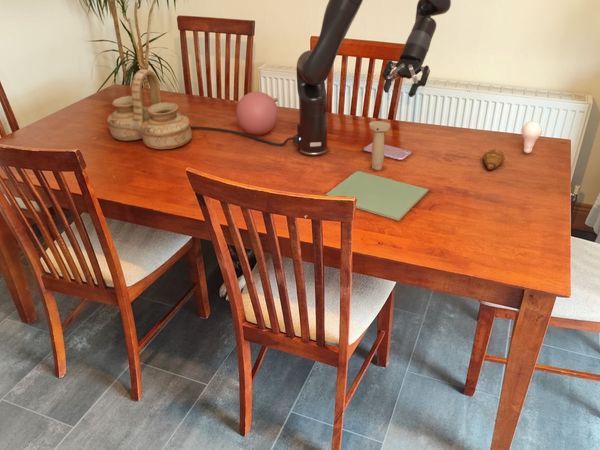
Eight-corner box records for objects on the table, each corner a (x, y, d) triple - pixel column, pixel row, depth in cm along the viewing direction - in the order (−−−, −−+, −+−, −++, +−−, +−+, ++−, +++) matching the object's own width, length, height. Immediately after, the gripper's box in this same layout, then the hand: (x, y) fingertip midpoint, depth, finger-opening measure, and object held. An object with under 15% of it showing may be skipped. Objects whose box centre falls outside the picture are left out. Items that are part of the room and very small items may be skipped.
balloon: (295, 127, 208) (294, 87, 200) (260, 144, 194) (257, 102, 186) (264, 119, 216) (262, 80, 208) (229, 135, 203) (225, 94, 195)
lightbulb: (536, 150, 186) (543, 119, 180) (536, 157, 181) (544, 126, 175) (517, 148, 187) (523, 117, 182) (517, 155, 182) (523, 124, 177)
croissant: (500, 173, 171) (503, 159, 169) (478, 170, 174) (480, 155, 171) (506, 157, 182) (509, 143, 179) (485, 153, 184) (488, 140, 181)
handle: (369, 164, 179) (371, 120, 171) (388, 166, 177) (391, 122, 169) (365, 170, 175) (367, 125, 167) (385, 173, 173) (388, 128, 165)
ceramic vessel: (98, 138, 202) (83, 71, 189) (134, 122, 216) (122, 58, 203) (169, 156, 187) (158, 84, 174) (203, 137, 201) (195, 69, 188)
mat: (323, 198, 160) (323, 195, 160) (357, 172, 174) (357, 170, 174) (398, 221, 148) (398, 218, 148) (428, 191, 162) (428, 189, 162)
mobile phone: (373, 140, 193) (412, 150, 185) (373, 143, 193) (412, 153, 185) (362, 148, 187) (401, 158, 180) (362, 150, 188) (401, 161, 180)
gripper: (392, 39, 175) (374, 84, 173) (434, 44, 168) (416, 91, 166) (398, 52, 182) (380, 96, 180) (439, 58, 175) (421, 103, 173)
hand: (397, 93), depth 173 cm, fingers open, 8 cm apart
